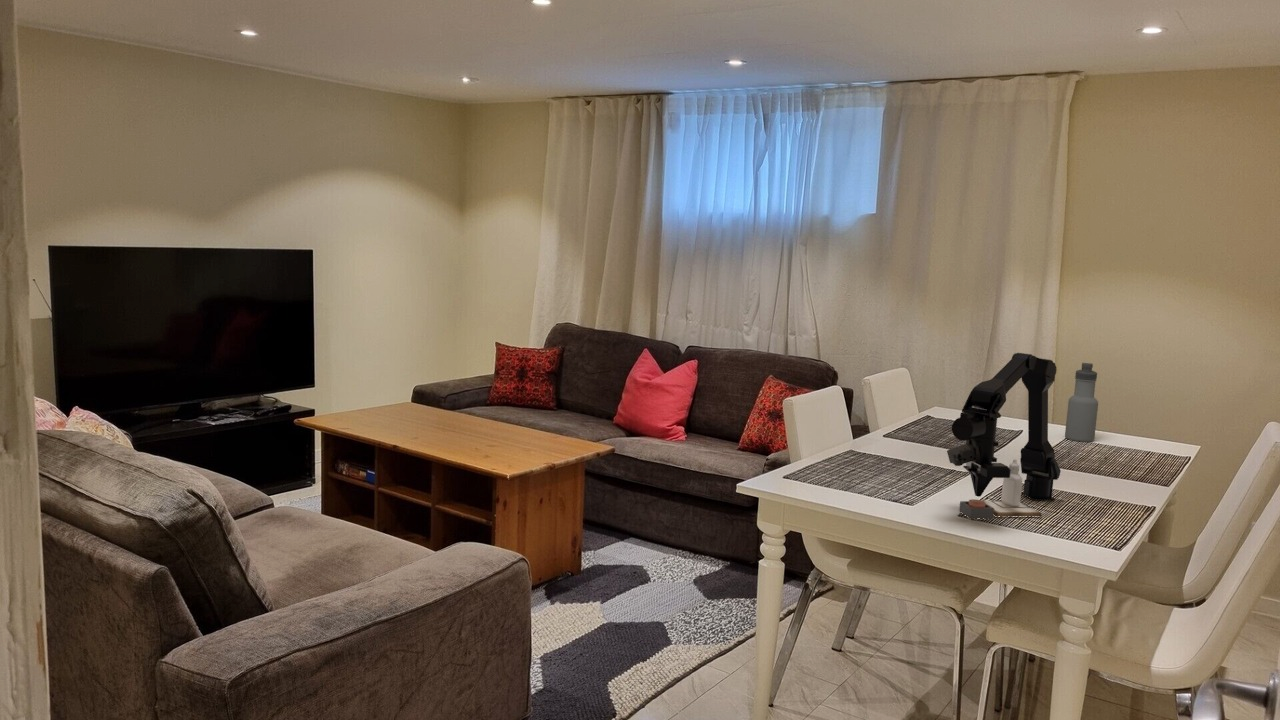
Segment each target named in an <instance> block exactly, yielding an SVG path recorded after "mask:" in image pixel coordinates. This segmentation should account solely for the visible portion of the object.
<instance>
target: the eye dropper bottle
mask: <svg viewBox="0 0 1280 720" xmlns="http://www.w3.org/2000/svg"><path fill="white" fill-rule="evenodd" d="M1017 462H1018V461H1017V459H1015V458H1013V459H1012V462H1011V463H1009V465H1008V467H1009V468H1010V469H1011V475H1010V478H1002V479H1003V481H1002V488H1001V499H1000V501H1002V502H1003V503H1004V504H1006V505H1009V506H1012V507H1018V506H1020V502H1021V497H1022V494H1021V493H1022V489H1023V478H1022V476H1021V475H1020V474H1019V473H1020V464H1018V463H1017Z"/></svg>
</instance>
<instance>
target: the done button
mask: <svg viewBox="0 0 1280 720" xmlns="http://www.w3.org/2000/svg"><path fill="white" fill-rule="evenodd" d="M968 501H969V506H971V507H973V508H985V502H984V501H985V500H982V499H968Z"/></svg>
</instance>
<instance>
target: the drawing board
mask: <svg viewBox="0 0 1280 720" xmlns="http://www.w3.org/2000/svg"><path fill="white" fill-rule="evenodd" d="M983 501H984V502H985V503H986V504H988V505H989V506H991V507H993V508H994V513H993V514H994V515H995V516H1000V517H1002V516H1007V517H1008V516H1041V517H1042V512H1040V511H1038V510H1037V509H1034V508H1032V507H1031V506H1030V505H1027V504H1026V503H1024V502H1022V501H1020V506H1018V507H1012V506H1009V505H1006V504H1004V503H1003V502H1002V501H1001V500H983ZM995 516H994V517H995Z"/></svg>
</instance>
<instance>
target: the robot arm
mask: <svg viewBox="0 0 1280 720" xmlns="http://www.w3.org/2000/svg"><path fill="white" fill-rule="evenodd" d="M1057 371H1058V370H1057V366H1056V363H1055V362H1054V361H1053V360H1052V359H1047V358H1040V357H1037V356H1035V355H1033V354H1031V353H1025V352H1024V353H1023V352H1017V353H1016V352H1015V353H1013V355H1012V357H1011V359H1010V360H1009V361H1008V362H1007V363H1006V364H1005V365H1004V366H1003V367H1002V368H1001V369H1000V370H999V371H998V372H997V373H996V374H995V375H994V376H993V377H992V378H991V379H987V380H984V381H981V382H979V383H978V384H977V385H975V386H974V387H973V388H972V389H971V391H970V392H969V394H968V397H967V399H966V401H965V403H964V405H963V407H962V410H961V413H960V416H959V417H957V418H956V419H955V420H954V421H953V423H952V425H951V433H952V434H953V436H954V437H955V439H957V440H958V441H961V442H962V441H963V442H964V441H965V444H962V445H957V446H956V447H955V446H954V447H952V448H949V449H947V450H946V452H947V453H946V454H947V457H948V461H949V463H950V464H953V465H954V466H955V467H960V466H963V468H964V469H965V470H966V471H967V472H968V473H969V475H970V478H971V483H972V487H973V491H974V492H973V493H974V495H975V496H976V497H978V498H979V497H981V496H982V495H983V493H984V492H985V490H986V489H987V487H988V486H989V484H990V482H992V480H993V479H1003V478H1010V475H1011V469H1010V468H1009V465H1006V464H1004V463H1002V462H997V461H998V458H997V457H996V456H995V448H996V447H999V441H996V436H997V426H998V425H997V423H998V419H1001V418H1002V414H1001V413H1000V410H1001V409H1002V408H1003V406H1004V404H1005V403H1006V402H1007V394H1008V393H1009V391H1010V390H1011V389H1012V388H1014V386H1015V385H1016V384H1017V383H1018V382H1019V381H1020V380H1021V382H1022V384H1023V385H1024V386H1025V388H1026V390H1027V397H1028V398H1027V400H1028V401H1027V402H1028V404H1027V405H1028V406H1027V407H1028V408H1027V409H1028V410H1027V411H1028V413H1027V414H1028V416H1027V424H1028V426H1027V427H1028V429H1027V431H1028V437H1027V442H1026V443H1025V445H1024V446H1023V447H1021V449H1020V462H1019V463H1020V469H1021V470H1020V471H1021V474H1023V475H1026V476H1025V477H1026V479H1024V481H1023V482H1024V483H1023V491H1021V493H1022V494H1021V495H1023V494H1024V495H1026V496H1028V497H1030V498H1032V499H1035V500H1034V501H1055V500H1056V498H1055V497H1054V496H1053V488H1054V481H1057V480H1059V478H1060V476H1061V468H1060V466H1059V463H1058V462H1057V460H1056V457H1055V456H1056V455H1055V449H1054V447H1053V446H1052V445H1051V443H1050V441H1049V389H1050V388H1051V386H1052V385H1053V383H1055V379H1056V375H1057ZM964 464H966V465H964ZM1024 495H1023V496H1024ZM1026 496H1025V497H1026ZM1028 497H1027V498H1028ZM1030 498H1029V499H1030ZM1032 499H1031V500H1032ZM1036 499H1037V500H1036Z"/></svg>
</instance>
